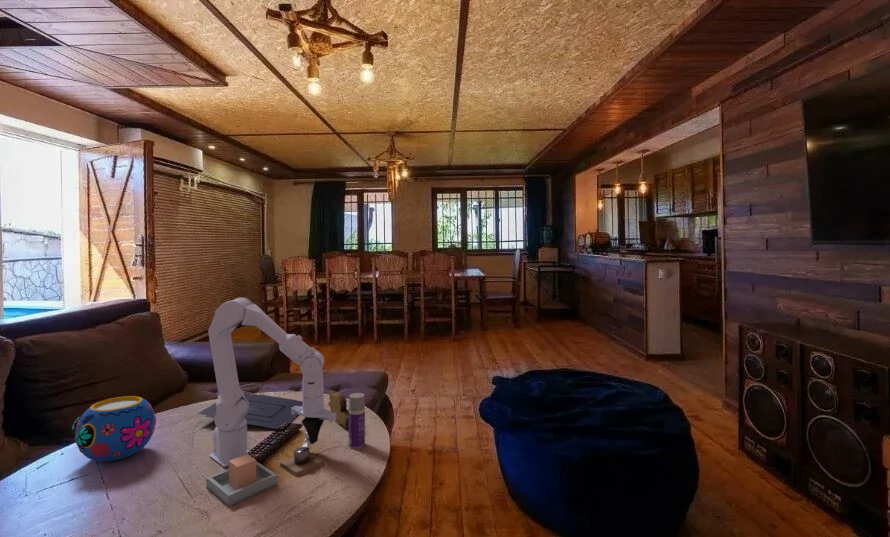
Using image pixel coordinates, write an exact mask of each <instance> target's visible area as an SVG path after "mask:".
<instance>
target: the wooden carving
mask: <svg viewBox="0 0 890 537" xmlns="http://www.w3.org/2000/svg"><path fill="white" fill-rule="evenodd" d="M328 397H329V398H328V399H329V401H328V406H329V407H330V410H329V411H331V412H333V413H336V420H335V421H334V422H336V425H339V426H341V425H342V427H343V428H344V429H346V428H349V409H348V408H347V406H348V405H347V402H348V401H347V398H346V396H344V395H343V394H341V393H340V392H331V393H329V394H328Z"/></svg>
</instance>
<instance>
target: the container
mask: <svg viewBox="0 0 890 537" xmlns="http://www.w3.org/2000/svg"><path fill="white" fill-rule="evenodd" d="M348 399H349V400H348V410H349V427H348V447H349V448H350V449H353V450H355V449H356V450H357V449H362V448H364V447H365V443H366V440H365V439H366V430H365V429H366V404H365V403H366V397H365V393H362V392H354V393H351V394H349V396H348Z"/></svg>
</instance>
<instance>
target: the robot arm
mask: <svg viewBox="0 0 890 537" xmlns="http://www.w3.org/2000/svg"><path fill="white" fill-rule="evenodd" d="M240 324H241V325H242V326H255V327H257V329H259V330H260V331H261V332H263V333H264V334H265V335H267V336H268V337H270V338H271V339H273V340H274V341H275V342H276V343H278V346H279V347H278V348H279V351H280V352H281V353H283V354H284V355H285V356H286V357H288V358H289V359H290V360H291V361H292V362H293V363H295V364H296V365H298V366H299V370H300V372H301V374H302V381H301V382H302V383H301V387H302V388H301V391H302V393H301V394H302V397H301V398H302V401H303V406H294V407H292V408H291V414H292V415H295V414H298V415H300V416H302V417H304V418H303V419H302V420H301V424H302V426H304V428H305V431H307V433H308V436H309V439H310V444H312V445H314V444H315V443H316V442H318V440H319V435H320V430H321V428H322V426H323V423H324V422H325V421H328V422H329V423H334V422H336V421H335V420H336V413H333V412H331V411H330V410H328V409H327V408H326V406H325V405H324V402H325V401H324V400H325V399H324V398H325V397H324V394H325V393H324V372H323V366H324V364H325V358H324V355H323V354H322V353H321V351H319V350H316V349H315V347H310V346H309V345H308V344H307V343H306V342H305V341H304V340H303V337H302V336H301V335H300V334H298V335H297V334H296V333H293V334H292V333H287V332H286V331H285V330H284V329H283V328H281V327H280V326H279V325H278V324H277V323H276V322H275V321H274V320H273V319H272V318H271V317H269V315H268V314H266V313H265V312H264V311H263V310H262V309H261V308H260V307H259V306H258V305H257V303H256V304H255V303H253V302H252V301H251V300H250V299H249V298H248V297H242V296H241V297H237V298H235V299H233V300H227V301H225V302H223V303H222V304H221V305H219V307H217V308H216V310H214V316H213V318H212V321H211V323H210V325H209V328H208V329H207V330H208V338H209V345H210V350H211V356H212V357H211V358H212V362H213V369H214V374H215V375H214V376H215V380H216V386H217V392H218V396H217V400H216V402H217V403H216V402H215V403H216V415H215V418H213V420H214V424H215V428H214V430H213V433H212V453H211V454H209V458H211V459H212V460H214V461H215V462H216V463H218V464H219V465H221V467H224V468H227V467H229V461H230V460H232V459H235V458H238V457H241V456H243V455H246V454H247V453H248V452H250V450H248V424H247V421H246V418H245V415H247V413H248V412H249V407H250V406H249V403H248V401H247V400H246V399H245V397H244V393H245V392H244V391H243V390H242V389H241V388H240V387H241V386H240V382H239V376H238V370H237V364H236V363H237V362H236V358H235V353H234V347H233V346H234V344H233V340H232V332H234V330H235V329H236V328H237V327H238V325H240ZM298 415H297V416H298Z"/></svg>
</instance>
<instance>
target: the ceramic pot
mask: <svg viewBox="0 0 890 537" xmlns="http://www.w3.org/2000/svg"><path fill="white" fill-rule="evenodd" d="M156 424H157V417H156V414H155V410H154V408H153V406H152V404H151V403H150V402H149V401H147V399H145V398H143V397H140V396H136V395H128V396H117V397H112V398H107V399H103V400H101V401H97V402H96V403H94V404H92V405H91V406H90V407H89V408H87V409H86V410H85V411H84V412H83V414H82V415H80V416H79V417H77V418H76V419H75V420H74V422H73V424H72V429H71V430H72V433H73V435H74V436H75V437H74V443H75V444H76V445H77V448H78V450H79V452H80V453H81V454H82V455H83V456H84V457H86V458H87V459H88V460H92V461H97V462H98V461H99V462H113V461H118V460H122V459H125V458H127V457H131V456H132V455H135V454H136V453H137V452H139V451H140V450H142V449H143V448H145V447H146V446H147V444H148V443H149V442H150V440H151V438H152V436H153V435H154V433H155V429H156Z"/></svg>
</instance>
